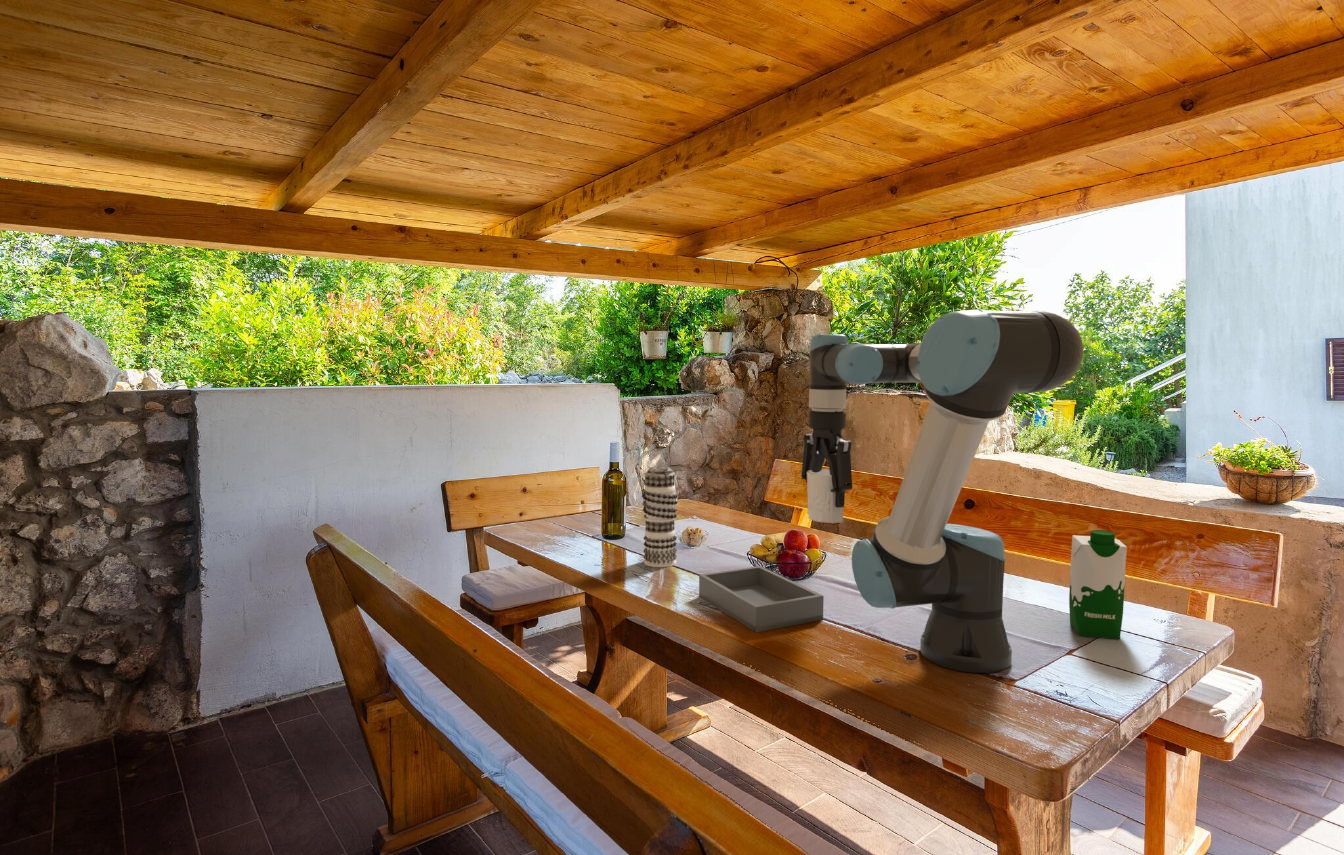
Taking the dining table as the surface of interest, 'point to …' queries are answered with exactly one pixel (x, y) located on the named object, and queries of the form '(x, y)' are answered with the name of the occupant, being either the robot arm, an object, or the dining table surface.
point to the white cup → (819, 495)
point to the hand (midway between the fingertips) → (824, 517)
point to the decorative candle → (659, 517)
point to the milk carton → (1097, 584)
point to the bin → (761, 598)
